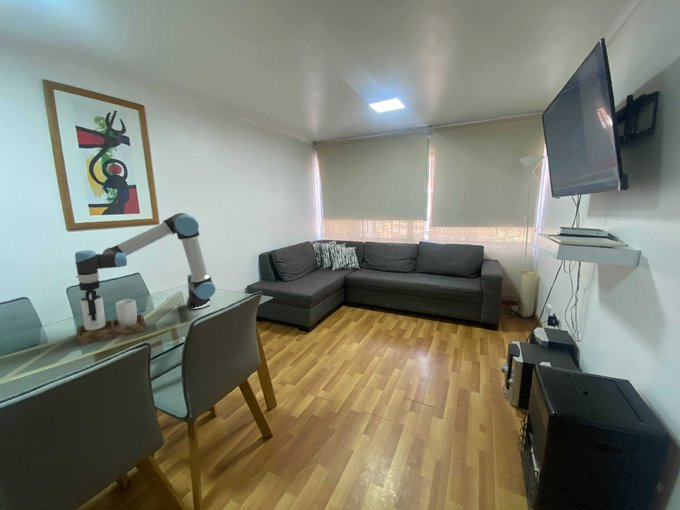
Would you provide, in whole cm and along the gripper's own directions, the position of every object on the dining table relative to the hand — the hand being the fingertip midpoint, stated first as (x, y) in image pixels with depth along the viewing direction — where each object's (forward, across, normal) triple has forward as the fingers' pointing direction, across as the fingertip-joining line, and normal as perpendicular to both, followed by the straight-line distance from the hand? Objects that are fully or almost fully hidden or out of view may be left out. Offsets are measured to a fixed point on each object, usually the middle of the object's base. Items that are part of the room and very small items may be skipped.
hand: (95, 322), depth 140 cm
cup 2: (+7, -1, +13) cm, 15 cm away
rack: (+8, 0, +7) cm, 10 cm away
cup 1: (+2, 0, 0) cm, 2 cm away
